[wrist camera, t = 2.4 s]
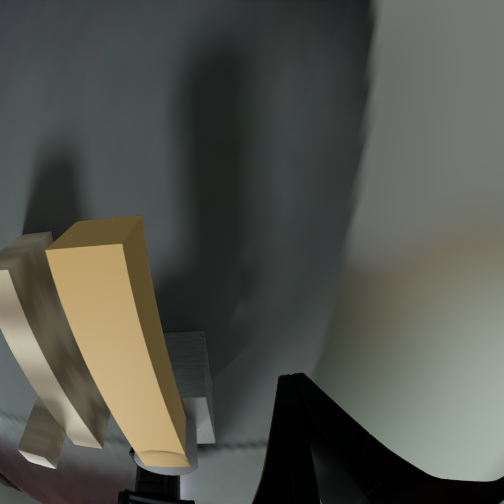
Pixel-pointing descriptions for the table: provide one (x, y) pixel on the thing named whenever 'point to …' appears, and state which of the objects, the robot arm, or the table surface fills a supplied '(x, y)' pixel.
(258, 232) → the table surface
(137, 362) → the bar
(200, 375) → the jamb post
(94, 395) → the grey-beige crossed blocks
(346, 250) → the table surface
